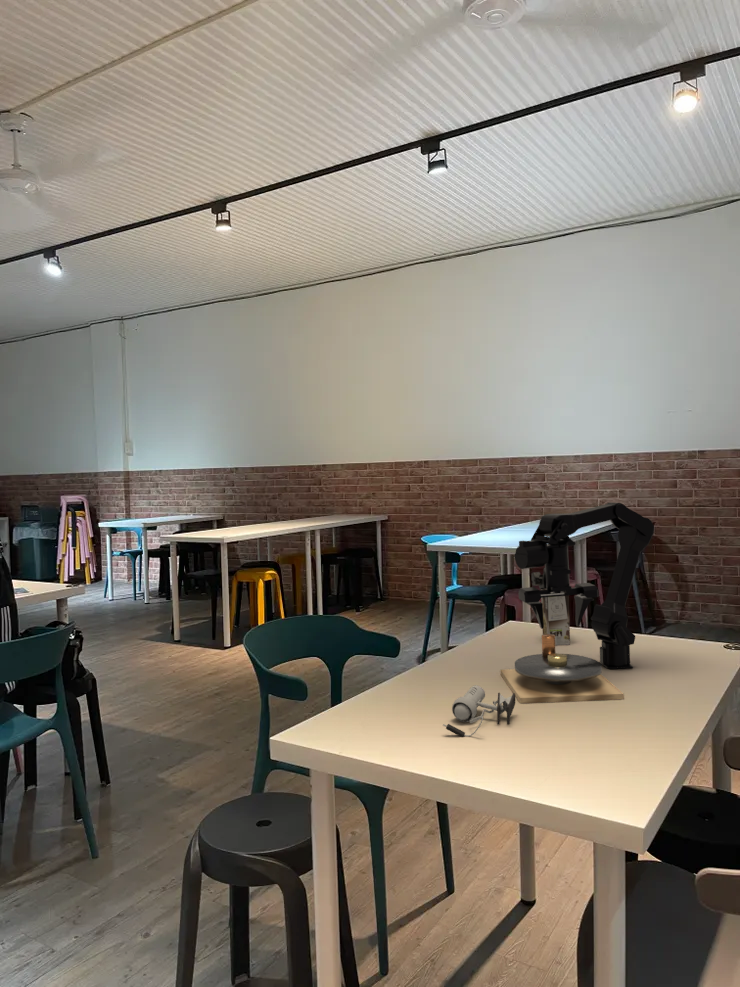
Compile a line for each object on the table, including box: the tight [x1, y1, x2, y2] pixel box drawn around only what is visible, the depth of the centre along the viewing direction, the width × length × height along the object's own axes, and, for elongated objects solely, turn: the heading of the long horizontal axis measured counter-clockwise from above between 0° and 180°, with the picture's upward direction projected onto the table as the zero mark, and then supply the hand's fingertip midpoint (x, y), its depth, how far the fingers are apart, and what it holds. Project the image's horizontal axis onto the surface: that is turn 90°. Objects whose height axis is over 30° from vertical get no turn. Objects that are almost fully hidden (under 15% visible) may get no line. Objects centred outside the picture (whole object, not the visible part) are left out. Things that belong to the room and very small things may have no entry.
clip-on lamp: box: [442, 685, 516, 738], centre depth 150 cm, size 12×6×18 cm
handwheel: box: [514, 634, 603, 682], centre depth 173 cm, size 20×20×6 cm
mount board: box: [499, 668, 625, 704], centre depth 173 cm, size 23×23×4 cm
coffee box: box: [540, 589, 571, 646], centre depth 216 cm, size 9×6×16 cm
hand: (559, 627), depth 182 cm, fingers open, 9 cm apart
